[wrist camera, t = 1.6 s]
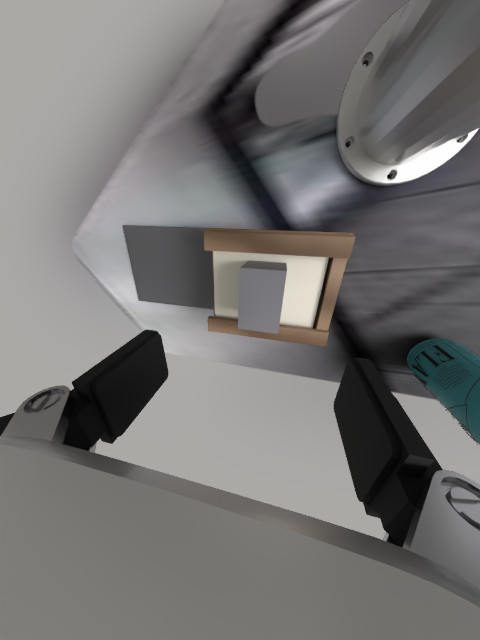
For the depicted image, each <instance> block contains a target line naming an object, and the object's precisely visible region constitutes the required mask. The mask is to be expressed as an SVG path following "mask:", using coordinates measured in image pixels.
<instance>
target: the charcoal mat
mask: <svg viewBox="0 0 480 640" xmlns="http://www.w3.org/2000/svg"><path fill="white" fill-rule="evenodd" d="M123 228H124V233H125V238H126V242H127V247H128V251H129V256H130V261H131V265H132V270H133V275H134V279H135V284H136V288H137V293H138V298H139V301H147V302H156V303H164V304H173V305H182V306H191V307H199V308H208V309H214V300H213V269H212V251H207V250H205V249H204V231H206V228H186V227H157V226H128V225H123Z"/></svg>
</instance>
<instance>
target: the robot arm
mask: <svg viewBox="0 0 480 640" xmlns="http://www.w3.org/2000/svg"><path fill="white" fill-rule="evenodd" d="M363 64H366V65H367V67H364V66H363ZM479 128H480V0H409V1H408V2H407V3H405V4H404V5H403V6H402V7H401V8H399V9H398V10H397V11H396V12H394V14H392V15H391V16H390V17H389V18H388V19H387V20H386V22H385V23H384V24H383V25H382V26H381V27H380V28H379V29H378V30H377V31H376V32H375V34H374V35H373V37H372V38H371V40H370V41H369V42H368V44H367V45H366V46H365V48H364V49H363V51H362V53H361V54H360V56H359V58H358V60H357V62H356V63H355V65H354V67H353V69H352V71H351V74H350V76H349V78H348V81H347V83H346V85H345V89H344V92H343V95H342V98H341V101H340V105H339V110H338V116H337V130H336V135H337V143H338V149H339V152H340V155H341V158H342V160H343V162H344V163H345V165H346V167H347V168H348V170H349V171H350V172H351V173H352V174H353V175H354V176H355V177H357V178H358V179H360V180H362V181H363V182H365V183H369V184H372V185H376V186H393V185H399V184H403V183H406V182H409V181H412V180H415V179H417V178H419V177H422V176H424V175H426V174H428V173H430V172H431V171H433V170H435V169H436V168H438V167H440V166H441V165H443V164H444V163H445V162H447V161H448V160H449V159H450V158H452V157H453V156H454V155H455V154H457V153H458V152H459V151H460V150H461V149H462V148H463V147H464V146H465V145H466V144H467V143H468V142H469V141H470V140H471V138H472V137H473V136H474V135H475V133H476V132H477V131H478V129H479ZM456 140H457V142H456ZM346 143H349V144H350V146H349V147H346V146H345V144H346ZM388 174H389V175H390V179H389V180H388V178H387V175H388ZM167 377H168V368H167V363H166V358H165V353H164V348H163V343H162V338H161V335H160V334H159V333H158V332H157V331H153V330H144V331H143V332H141V333H140V334H139V335H137V336H136V337H135V338H133V339H132V340H130V341H129V342H127V343H126V344H125V345H123V346H122V347H120V348H119V349H118V350H116V351H115V352H114V353H112V354H111V355H109V356H108V357H106V358H105V359H104V360H102V361H101V362H99V363H98V364H97V365H95V366H94V367H92V368H91V369H90V370H88V371H87V372H85V373H84V374H83V375H81V376H80V377H78V378H77V379H76V380H74V381H73V382H72V384H73V386H74V389H73V390H72V391H70V389H69V388H68V387H66V386H54V387H50V388H47V389H44V390H42V391H40V392H38V393H36V394H34V395H32V396H31V397H29V398H28V399H27V400H25V401H24V402H23V403H22V404H21V405H20V407H19V408H18V409H17V411H16V412H15V413H12V414H9V415H6V416H3V417H0V640H480V485H479V484H478V483H476V482H475V481H473V480H471V479H469V478H467V477H465V476H464V475H461V474H459V473H456V472H454V471H449V470H443V469H442V468H441V467H440V465H439V463H438V462H437V460H436V459H435V457H434V456H433V454H432V453H431V451H430V449H429V448H428V446H427V445H426V443H425V442H424V440H423V439H422V437H421V436H420V434H419V433H418V431H417V430H416V428H415V427H414V425H413V423H412V422H411V420H410V419H409V417H408V416H407V414H406V413H405V411H404V410H403V408H402V406H401V405H400V403H399V402H398V400H397V399H396V398H395V397H394V396H393V394H392V393H391V391H390V389H389V388H388V386H387V385H386V383H385V382H384V380H383V379H382V377H381V376H380V374H379V372H378V371H377V369H376V368H375V366H374V365H373V363H372V362H371V360H369V359H363V358H353V360H349V361H348V363H347V365H346V368H345V371H344V374H343V377H342V380H341V383H340V386H339V390H338V392H337V395H336V398H335V401H334V412H335V415H336V419H337V423H338V427H339V431H340V434H341V438H342V442H343V446H344V449H345V453H346V457H347V461H348V465H349V469H350V472H351V476H352V480H353V484H354V487H355V491H356V495H357V497H358V499H359V501H361V502H363V504H364V507H365V511H366V514H367V515H370V516H374V517H378V518H380V519H381V522H382V525H383V528H384V530H385V531H386V534H385V536H384V539H383V540H381V539H378V538H375V537H372V536H369V535H366V534H363V533H360V532H357V531H354V530H350V529H347V528H344V527H341V526H338V525H334V524H332V523H329V522H326V521H322V520H319V519H316V518H313V517H310V516H306V515H303V514H300V513H297V512H293V511H290V510H286V509H283V508H280V507H276V506H273V505H269V504H266V503H263V502H260V501H256V500H253V499H250V498H247V497H243V496H240V495H237V494H233V493H230V492H226V491H223V490H219V489H216V488H213V487H209V486H206V485H202V484H199V483H196V482H193V481H189V480H186V479H182V478H179V477H175V476H172V475H169V474H165V473H162V472H159V471H155V470H152V469H148V468H145V467H142V466H138V465H135V464H131V463H128V462H124V461H121V460H117V459H113V458H110V457H107V456H103V455H100V454H96V453H95V448H96V442H97V441H98V440H99V439H100V438H101V440H102V441H104V442H107V443H111V444H112V443H113V442H114V441H115V440H116V438H117V437H119V436H121V435H122V434H123V433H124V432H125V431H126V429H127V428H128V427H129V426H130V424H131V423H132V422H133V420H134V419H135V418H136V417H137V416H138V414H139V413H140V412H141V411H142V409H143V408H144V407H145V406H146V404H147V403H148V402H149V401H150V399H151V398H152V397H153V396H154V394H155V393H156V392H157V391H158V389H159V388H160V387H161V386H162V384H163V383H164V382H165V380H166V379H167Z"/></svg>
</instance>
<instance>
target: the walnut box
mask: <svg viewBox="0 0 480 640" xmlns="http://www.w3.org/2000/svg"><path fill="white" fill-rule="evenodd" d="M353 236H354V233H336V232H307V231H278V230H249V229H220V228H206V231H204V249H205V250H207V251H212V269H213V300H214V317H213V316H209V317H208V331H213V332H221V333H228V334H235V335H242V336H250V337H257V338H264V339H272V340H279V341H286V342H293V343H301V344H308V345H315V346H322V347H325V346H326V342H327V339H328V335H329V332H328V328H329V325H330V321H331V317H332V314H333V310H334V306H335V303H336V299H337V295H338V292H339V288H340V284H341V281H342V277H343V273H344V270H345V266H346V262H347V259H350V256H351V252H352V248H353V245H354V241H355V238H356V237H353ZM213 251H224V252H242V253H259V254H277V255H295V256H312V257H329V260H328V264H327V269H326V273H325V277H324V282H323V286H322V290H321V295H320V299H319V303H318V308H317V312H316V316H315V321H314V325H313V329H311V328H303V327H295V326H287V325H279V332H278V334H275V333H267V332H259V331H252V330H244V329H238V319H230V318H222V317H215V299H214V266H213Z"/></svg>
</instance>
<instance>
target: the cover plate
mask: <svg viewBox="0 0 480 640" xmlns="http://www.w3.org/2000/svg"><path fill="white" fill-rule="evenodd" d="M328 260H329V257H312V256H295V255H277V254H259V253H242V252H224V251H213V266H214V299H215V317H222V318H230V319H238V329H244V330H252V331H259V332H267V333H275V334H278V332H279V325H287V326H295V327H303V328H311V329H313V325H314V321H315V316H316V312H317V308H318V303H319V299H320V295H321V290H322V286H323V282H324V277H325V273H326V269H327V264H328Z"/></svg>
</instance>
